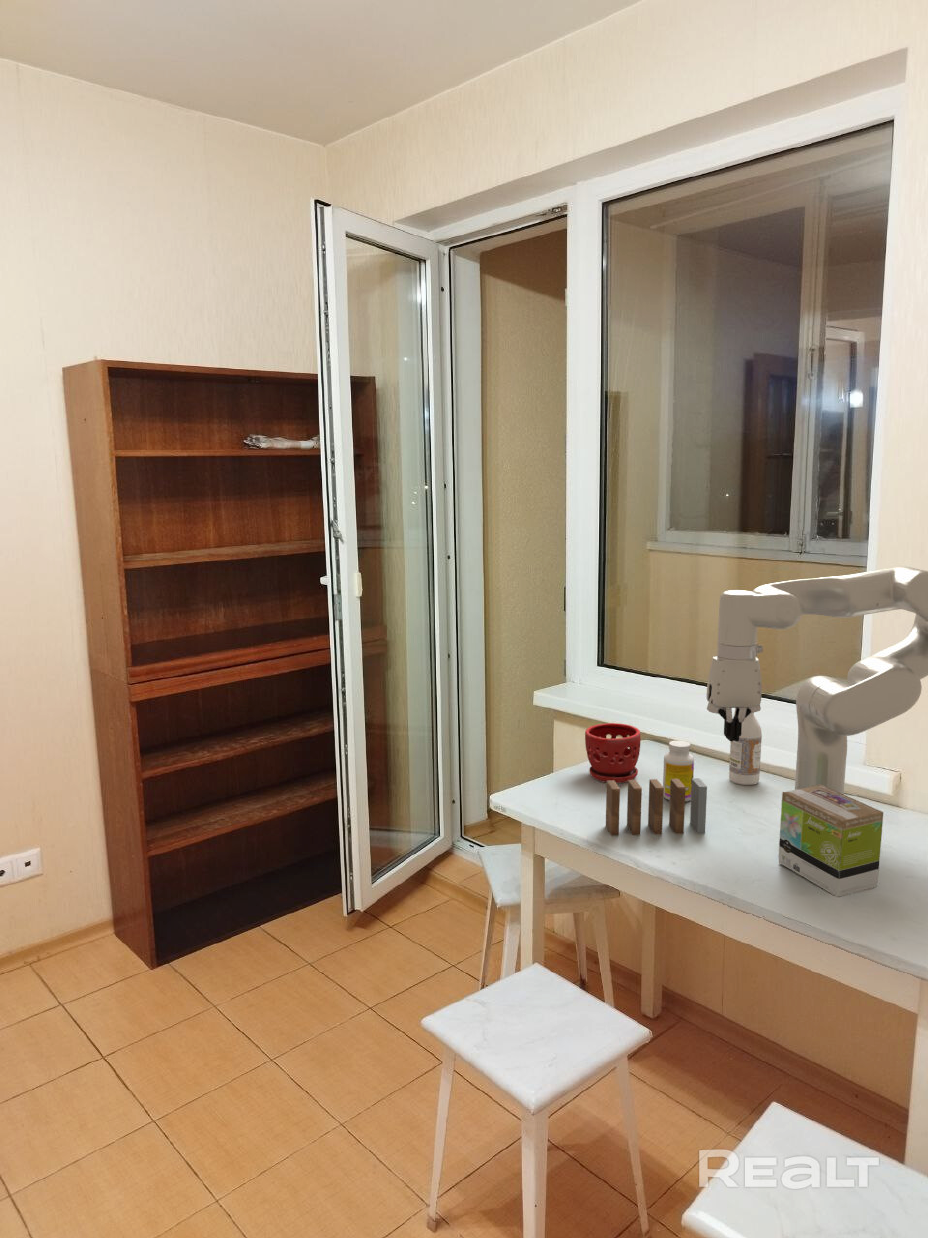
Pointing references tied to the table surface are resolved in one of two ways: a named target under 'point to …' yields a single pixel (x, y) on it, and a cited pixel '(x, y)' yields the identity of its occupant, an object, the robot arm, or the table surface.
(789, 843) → the tea box
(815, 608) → the robot arm
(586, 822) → the table surface
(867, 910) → the table surface
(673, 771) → the supplement bottle
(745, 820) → the table surface
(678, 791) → the domino
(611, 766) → the plant pot
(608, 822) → the domino
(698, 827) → the head domino
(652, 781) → the domino
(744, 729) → the bath foam
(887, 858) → the table surface
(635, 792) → the domino
